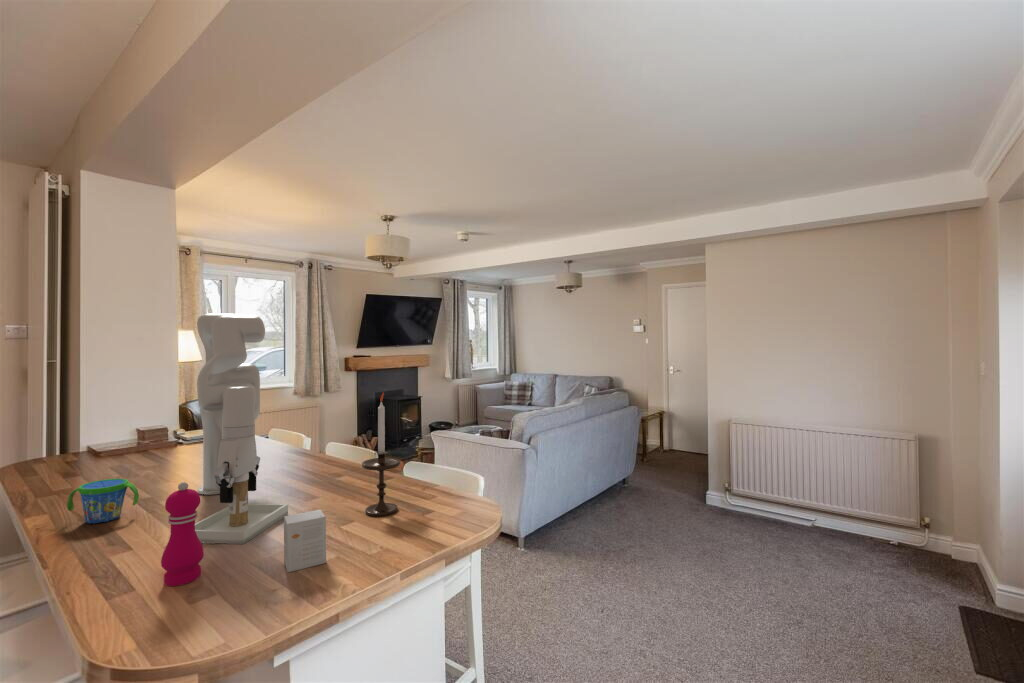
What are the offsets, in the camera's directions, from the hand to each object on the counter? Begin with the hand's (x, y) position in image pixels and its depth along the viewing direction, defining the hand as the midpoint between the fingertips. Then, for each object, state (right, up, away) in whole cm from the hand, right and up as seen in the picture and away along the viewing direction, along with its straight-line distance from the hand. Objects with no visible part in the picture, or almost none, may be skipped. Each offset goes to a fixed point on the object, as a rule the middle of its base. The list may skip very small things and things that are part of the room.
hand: (238, 496), depth 124 cm
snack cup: (-42, -9, +6) cm, 43 cm away
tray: (0, -8, 0) cm, 8 cm away
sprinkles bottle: (0, -8, 0) cm, 8 cm away
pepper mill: (+4, -8, -27) cm, 29 cm away
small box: (+27, -8, -21) cm, 35 cm away
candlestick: (+35, -9, +12) cm, 38 cm away
